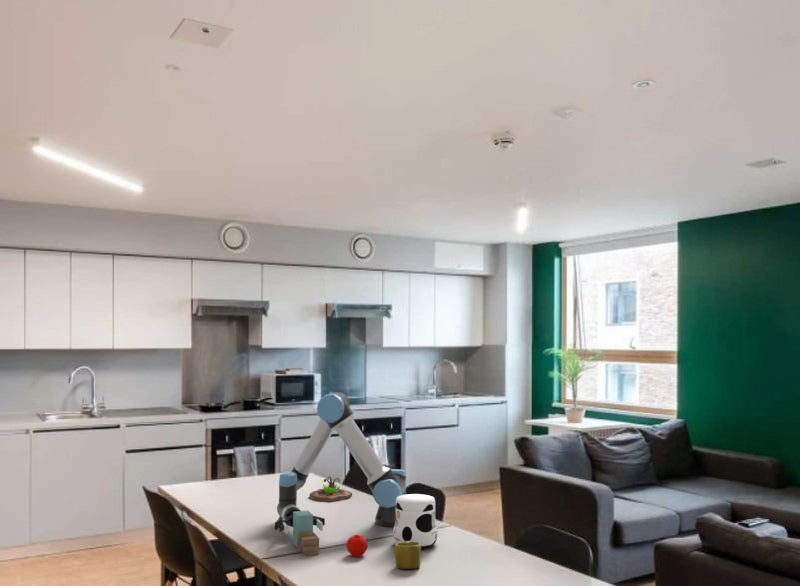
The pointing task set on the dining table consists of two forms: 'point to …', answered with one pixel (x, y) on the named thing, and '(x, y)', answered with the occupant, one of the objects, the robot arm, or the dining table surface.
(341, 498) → the plant
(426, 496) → the milk container
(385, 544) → the dining table surface
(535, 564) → the dining table surface
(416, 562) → the mug
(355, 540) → the apple
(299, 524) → the teal pillar
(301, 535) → the brown block
